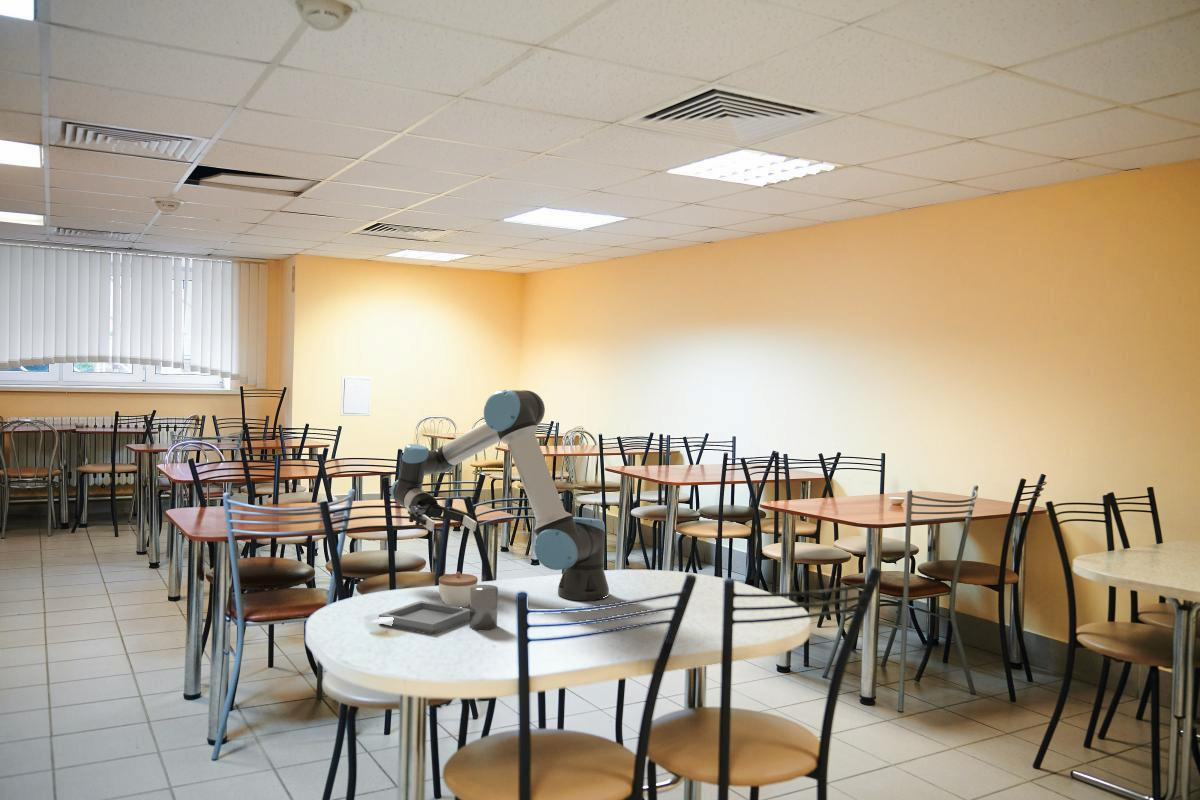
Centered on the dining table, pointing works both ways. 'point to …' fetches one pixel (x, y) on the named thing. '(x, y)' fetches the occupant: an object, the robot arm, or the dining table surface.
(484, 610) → the metal tin
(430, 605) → the tray
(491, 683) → the dining table surface
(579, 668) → the dining table surface
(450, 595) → the lidded jar
